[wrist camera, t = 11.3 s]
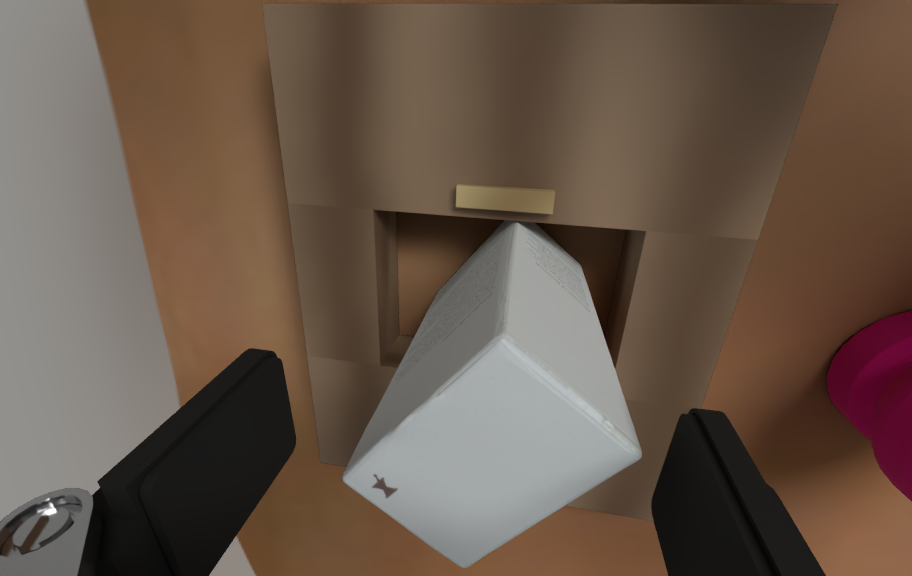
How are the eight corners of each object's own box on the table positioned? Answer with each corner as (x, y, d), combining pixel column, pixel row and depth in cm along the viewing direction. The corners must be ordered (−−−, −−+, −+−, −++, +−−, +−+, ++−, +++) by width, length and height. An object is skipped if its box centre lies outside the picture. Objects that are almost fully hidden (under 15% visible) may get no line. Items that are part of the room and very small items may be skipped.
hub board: (343, 425, 26) (317, 468, 23) (305, 20, 17) (255, 0, 14) (647, 474, 23) (664, 530, 20) (782, 23, 15) (847, 0, 11)
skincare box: (498, 343, 22) (460, 577, 11) (436, 290, 21) (330, 482, 10) (587, 263, 19) (652, 464, 8) (519, 201, 19) (494, 329, 8)
